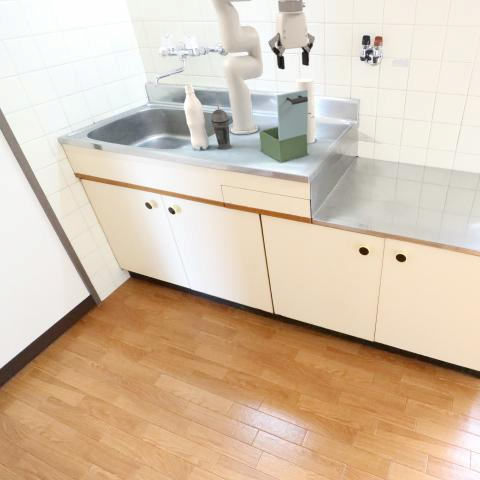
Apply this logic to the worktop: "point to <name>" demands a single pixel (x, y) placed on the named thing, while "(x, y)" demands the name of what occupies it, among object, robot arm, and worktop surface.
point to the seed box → (282, 145)
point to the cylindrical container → (308, 85)
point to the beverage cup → (221, 127)
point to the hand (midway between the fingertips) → (293, 67)
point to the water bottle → (195, 119)
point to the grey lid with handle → (292, 114)
